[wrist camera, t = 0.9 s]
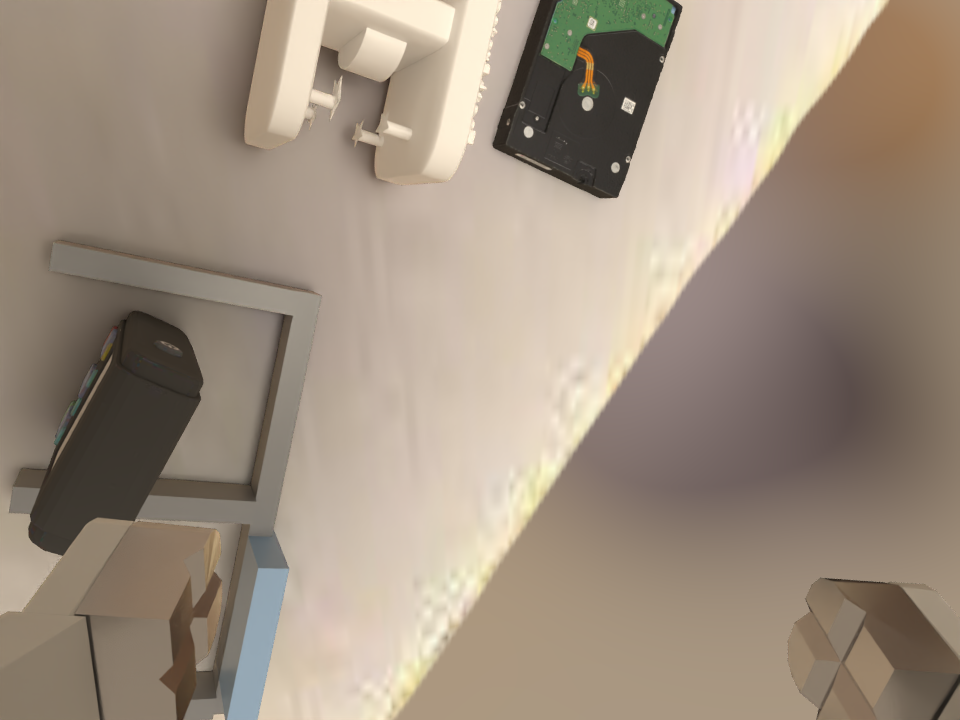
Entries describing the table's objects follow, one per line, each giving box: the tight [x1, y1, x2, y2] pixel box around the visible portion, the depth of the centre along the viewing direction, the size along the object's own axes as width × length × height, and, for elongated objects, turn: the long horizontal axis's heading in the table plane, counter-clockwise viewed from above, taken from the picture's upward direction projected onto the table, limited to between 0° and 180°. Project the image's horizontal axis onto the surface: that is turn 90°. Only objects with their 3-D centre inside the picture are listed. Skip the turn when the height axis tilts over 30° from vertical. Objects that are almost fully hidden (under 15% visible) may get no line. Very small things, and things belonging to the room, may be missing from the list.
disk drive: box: [493, 0, 682, 198], centre depth 50 cm, size 10×3×15 cm
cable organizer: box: [244, 0, 502, 185], centre depth 39 cm, size 15×11×12 cm
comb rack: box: [9, 240, 322, 720], centre depth 41 cm, size 28×15×7 cm, turn 165°
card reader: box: [28, 311, 203, 556], centre depth 36 cm, size 9×4×15 cm, turn 148°
